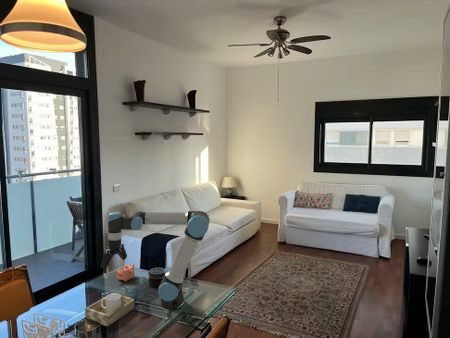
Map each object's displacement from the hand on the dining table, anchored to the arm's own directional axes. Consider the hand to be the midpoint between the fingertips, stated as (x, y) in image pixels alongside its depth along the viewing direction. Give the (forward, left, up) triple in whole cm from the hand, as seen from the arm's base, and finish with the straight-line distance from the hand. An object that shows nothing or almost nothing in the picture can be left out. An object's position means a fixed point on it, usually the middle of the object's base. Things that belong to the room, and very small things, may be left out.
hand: (114, 273), depth 191 cm
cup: (0, +3, -23) cm, 23 cm away
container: (0, -43, -23) cm, 49 cm away
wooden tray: (0, +3, -23) cm, 23 cm away
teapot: (+24, -38, -23) cm, 51 cm away
